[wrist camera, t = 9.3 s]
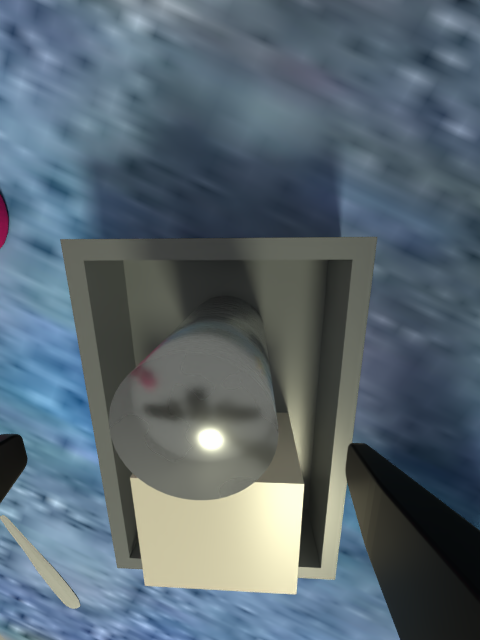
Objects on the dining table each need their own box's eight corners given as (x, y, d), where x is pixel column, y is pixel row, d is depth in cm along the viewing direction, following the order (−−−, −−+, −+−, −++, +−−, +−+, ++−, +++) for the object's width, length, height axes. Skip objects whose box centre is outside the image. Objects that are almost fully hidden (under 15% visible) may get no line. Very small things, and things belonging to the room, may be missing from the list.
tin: (263, 369, 18) (276, 503, 8) (190, 368, 18) (119, 497, 9) (265, 295, 17) (281, 353, 7) (186, 295, 17) (97, 351, 7)
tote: (317, 508, 22) (334, 579, 17) (145, 501, 23) (117, 567, 18) (341, 241, 17) (377, 236, 12) (113, 242, 17) (60, 239, 13)
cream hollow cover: (284, 499, 21) (296, 594, 15) (174, 495, 21) (145, 585, 16) (288, 412, 19) (304, 484, 13) (166, 409, 19) (130, 477, 14)
